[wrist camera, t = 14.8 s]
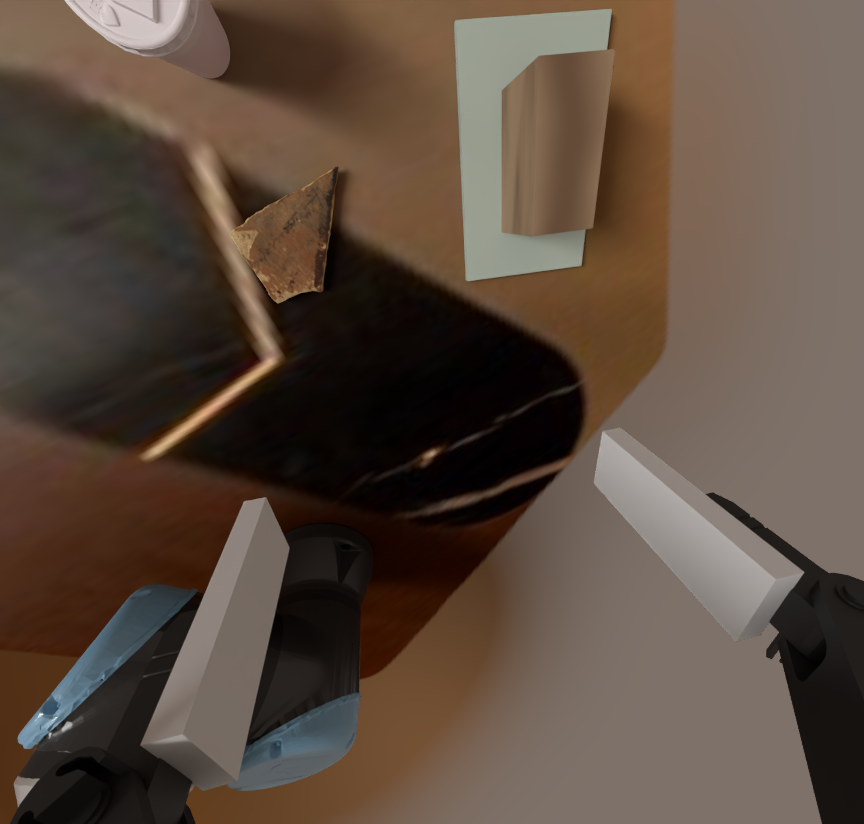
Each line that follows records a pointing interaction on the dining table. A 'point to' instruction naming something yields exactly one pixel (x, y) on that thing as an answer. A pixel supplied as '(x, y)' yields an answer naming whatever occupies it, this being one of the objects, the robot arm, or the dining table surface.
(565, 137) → the beige block
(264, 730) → the robot arm
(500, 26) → the felt mat
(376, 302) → the dining table surface
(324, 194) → the shard
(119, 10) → the smoothie
